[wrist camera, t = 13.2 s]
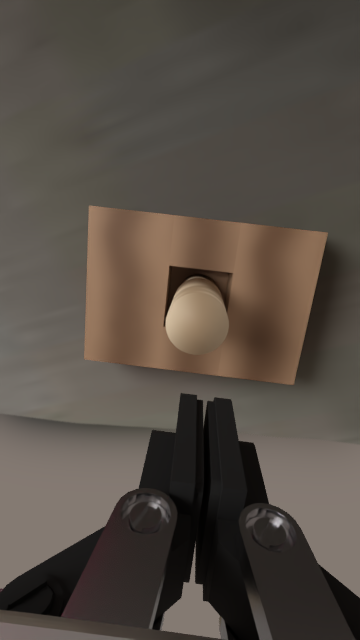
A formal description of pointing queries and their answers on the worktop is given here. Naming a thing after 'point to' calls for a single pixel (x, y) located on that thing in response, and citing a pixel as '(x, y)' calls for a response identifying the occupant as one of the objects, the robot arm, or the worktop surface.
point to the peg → (197, 316)
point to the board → (226, 272)
